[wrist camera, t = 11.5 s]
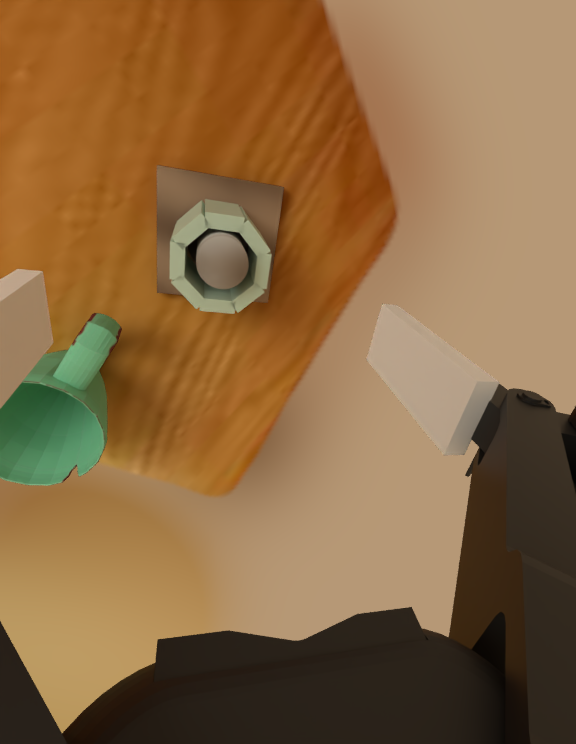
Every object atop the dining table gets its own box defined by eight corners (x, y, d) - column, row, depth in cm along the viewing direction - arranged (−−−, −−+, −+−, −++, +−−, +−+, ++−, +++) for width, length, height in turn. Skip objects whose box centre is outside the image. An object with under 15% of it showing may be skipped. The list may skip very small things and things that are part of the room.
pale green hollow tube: (176, 194, 29) (170, 206, 24) (264, 208, 31) (276, 222, 26) (174, 281, 33) (169, 308, 28) (254, 290, 34) (262, 316, 29)
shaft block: (158, 165, 29) (142, 167, 22) (281, 186, 32) (306, 195, 24) (158, 289, 34) (145, 326, 26) (266, 299, 36) (283, 336, 29)
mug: (98, 428, 40) (69, 501, 31) (-4, 385, 35) (-69, 457, 27) (172, 322, 36) (163, 372, 27) (67, 259, 31) (17, 296, 23)
